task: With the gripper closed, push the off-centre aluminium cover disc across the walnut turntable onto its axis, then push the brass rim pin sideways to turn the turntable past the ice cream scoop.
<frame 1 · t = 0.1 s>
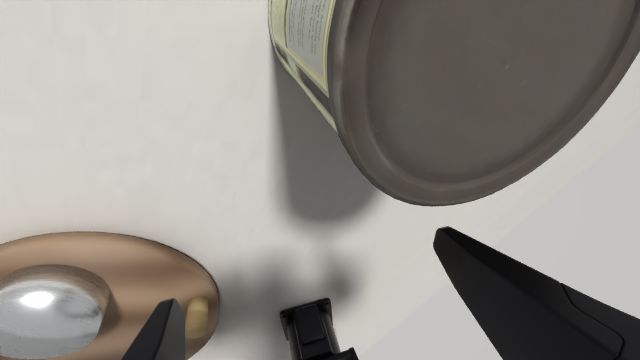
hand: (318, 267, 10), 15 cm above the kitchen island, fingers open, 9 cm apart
turntable: (91, 338, 25), point 3 cm above the kitchen island, hinge at 0.0°, touching cover
cover: (58, 294, 22), point 2 cm above the kitchen island, touching turntable
coffee can: (342, 18, 19), on the kitchen island
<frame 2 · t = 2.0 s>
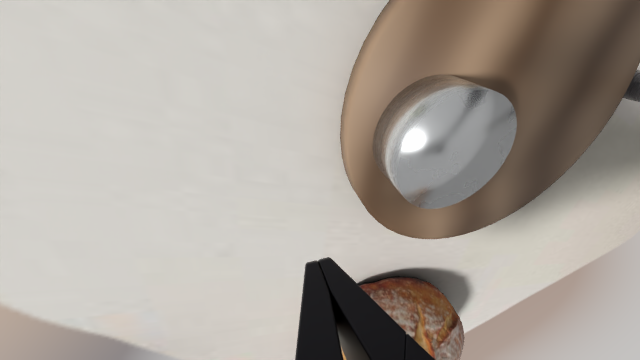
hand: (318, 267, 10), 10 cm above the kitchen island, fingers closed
turntable: (510, 123, 18), point 3 cm above the kitchen island, hinge at 0.0°, touching cover
cover: (425, 133, 17), point 2 cm above the kitchen island, touching turntable
bread: (376, 319, 34), on the kitchen island
ice cream scoop: (621, 82, 23), on the kitchen island
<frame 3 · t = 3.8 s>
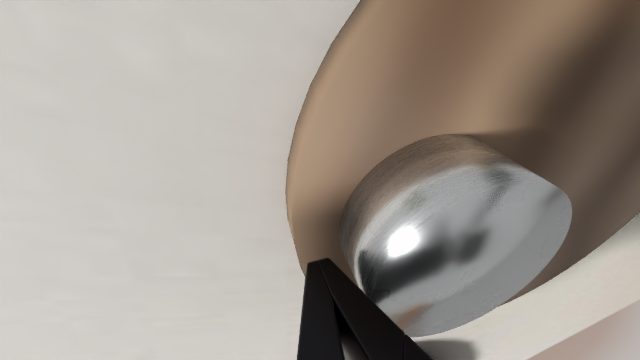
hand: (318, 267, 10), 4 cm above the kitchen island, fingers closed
turntable: (544, 196, 12), point 3 cm above the kitchen island, hinge at 0.0°, touching cover
cover: (420, 213, 11), point 2 cm above the kitchen island, touching gripper, turntable
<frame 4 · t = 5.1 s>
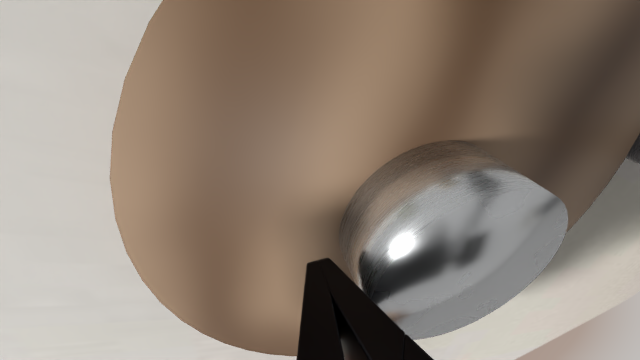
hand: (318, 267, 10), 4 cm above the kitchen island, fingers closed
turntable: (432, 223, 11), point 3 cm above the kitchen island, hinge at 0.4°, touching cover
cover: (419, 218, 12), point 2 cm above the kitchen island, touching gripper, turntable
ice cream scoop: (619, 133, 16), on the kitchen island
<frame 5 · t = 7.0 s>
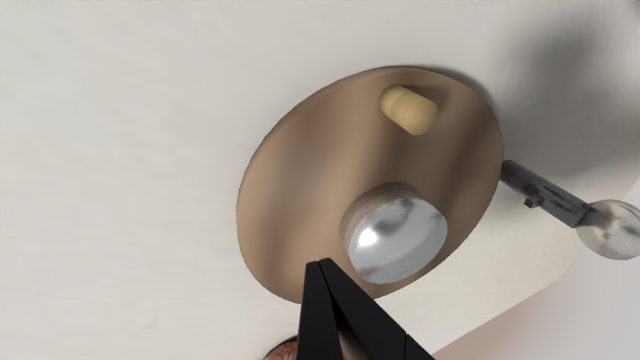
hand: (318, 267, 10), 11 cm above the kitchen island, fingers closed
turntable: (386, 223, 21), point 3 cm above the kitchen island, hinge at 0.4°, touching cover
cover: (381, 220, 22), point 2 cm above the kitchen island, touching turntable
ice cream scoop: (504, 169, 26), on the kitchen island
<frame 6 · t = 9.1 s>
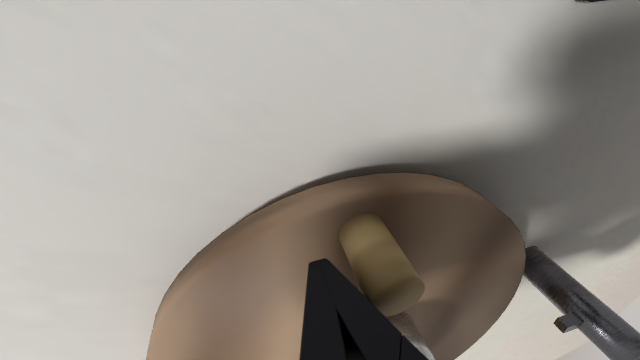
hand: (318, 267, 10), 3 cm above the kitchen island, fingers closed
turntable: (362, 358, 15), point 3 cm above the kitchen island, hinge at -0.4°, touching cover, gripper
cover: (358, 347, 16), point 2 cm above the kitchen island, touching turntable
ice cream scoop: (525, 256, 20), on the kitchen island
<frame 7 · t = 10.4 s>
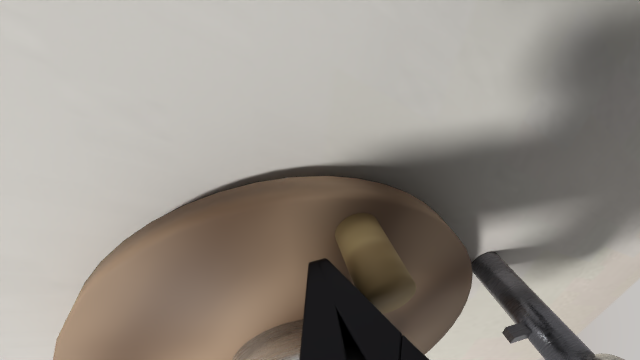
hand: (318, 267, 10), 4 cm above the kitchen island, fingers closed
cover: (296, 354, 16), point 2 cm above the kitchen island, touching turntable
ice cream scoop: (483, 262, 20), on the kitchen island
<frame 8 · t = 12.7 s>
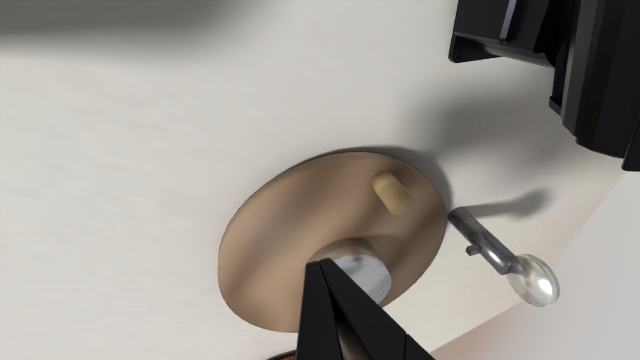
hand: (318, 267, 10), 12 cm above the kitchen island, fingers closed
turntable: (344, 270, 25), point 3 cm above the kitchen island, hinge at -22.1°, touching cover
cover: (340, 266, 26), point 2 cm above the kitchen island, touching turntable
ice cream scoop: (456, 214, 30), on the kitchen island
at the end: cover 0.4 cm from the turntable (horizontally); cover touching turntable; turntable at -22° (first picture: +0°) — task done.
